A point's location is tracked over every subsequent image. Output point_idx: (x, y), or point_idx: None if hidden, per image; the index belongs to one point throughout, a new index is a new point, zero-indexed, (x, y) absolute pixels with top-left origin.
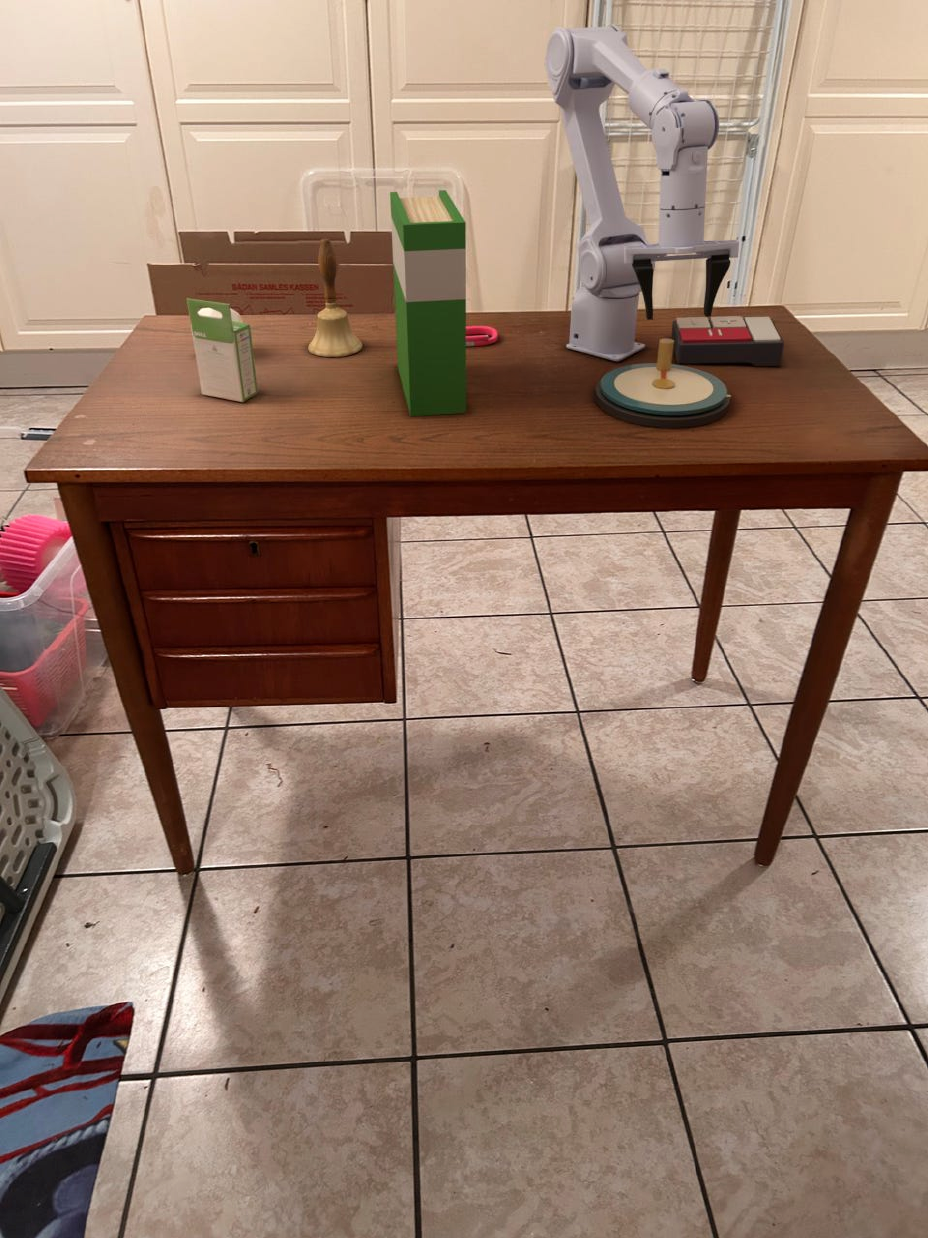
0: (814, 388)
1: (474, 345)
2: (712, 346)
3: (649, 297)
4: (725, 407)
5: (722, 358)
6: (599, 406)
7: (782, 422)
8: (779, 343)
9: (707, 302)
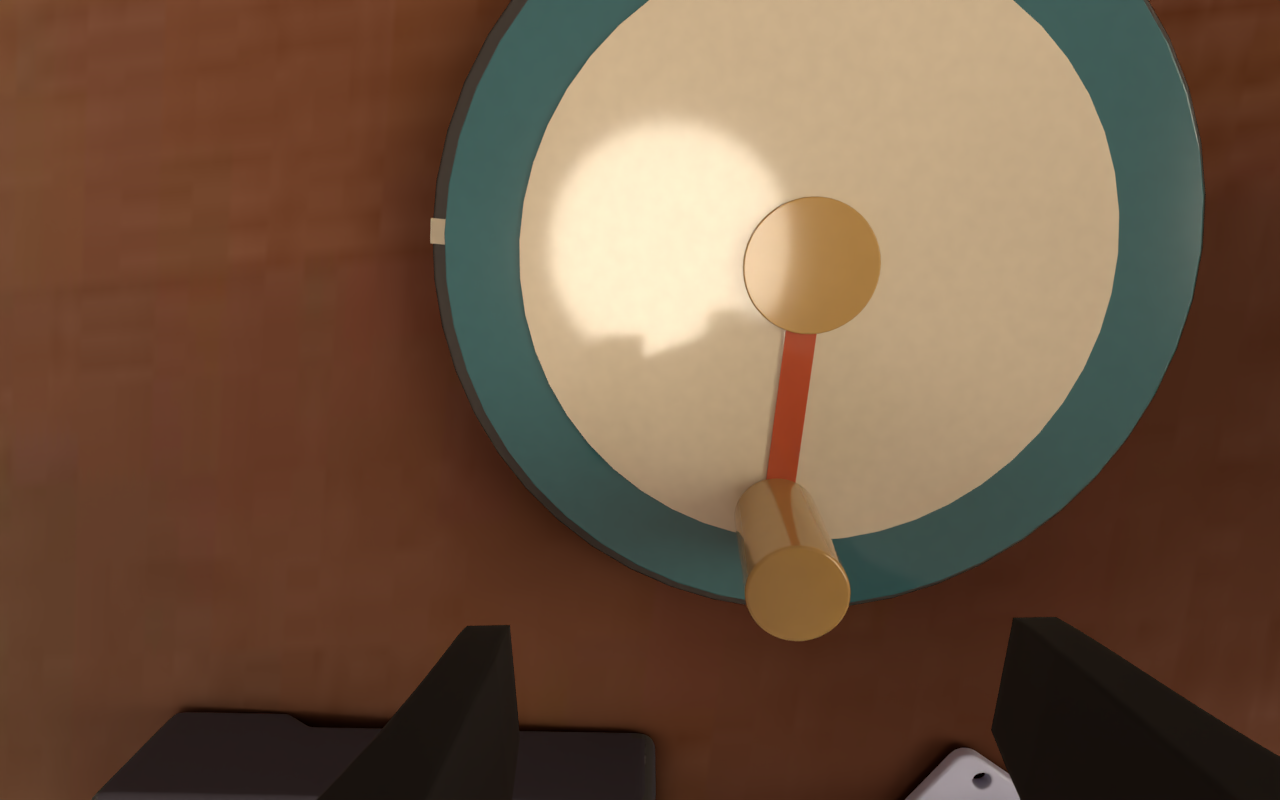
0: (34, 468)
1: None
2: None
3: (1221, 756)
4: (471, 69)
5: None
6: None
7: (195, 16)
8: (115, 791)
9: (474, 708)
